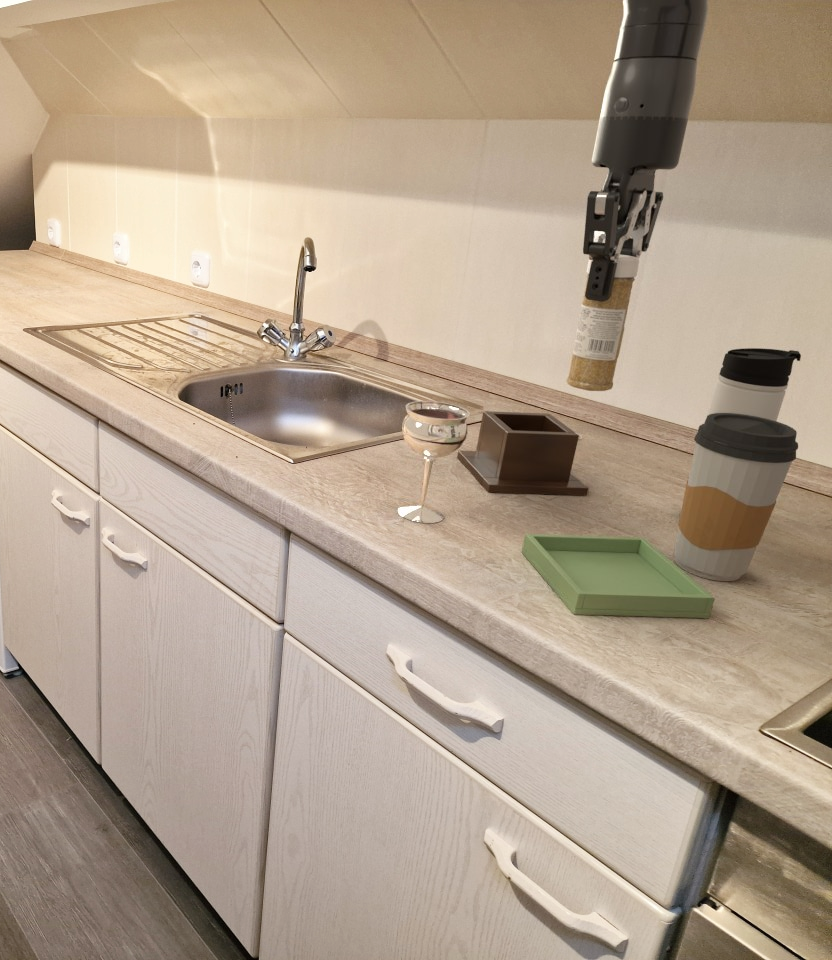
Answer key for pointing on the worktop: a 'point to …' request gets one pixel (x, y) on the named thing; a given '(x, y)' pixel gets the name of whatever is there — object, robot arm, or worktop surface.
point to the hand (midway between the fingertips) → (606, 297)
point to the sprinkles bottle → (602, 331)
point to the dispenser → (524, 455)
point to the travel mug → (753, 382)
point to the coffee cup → (731, 492)
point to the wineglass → (432, 445)
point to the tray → (615, 576)
